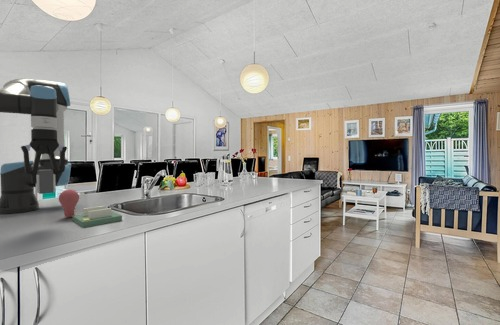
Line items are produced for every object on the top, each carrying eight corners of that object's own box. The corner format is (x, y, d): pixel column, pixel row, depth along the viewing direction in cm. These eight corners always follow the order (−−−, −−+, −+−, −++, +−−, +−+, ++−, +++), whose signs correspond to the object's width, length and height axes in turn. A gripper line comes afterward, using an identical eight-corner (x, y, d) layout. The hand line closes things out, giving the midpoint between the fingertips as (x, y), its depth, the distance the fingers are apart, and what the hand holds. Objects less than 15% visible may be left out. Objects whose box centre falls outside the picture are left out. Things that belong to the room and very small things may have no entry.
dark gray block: (37, 192, 96) (37, 169, 96) (51, 191, 99) (50, 169, 99) (39, 193, 93) (39, 170, 93) (53, 192, 96) (53, 170, 96)
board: (72, 220, 105) (72, 208, 105) (109, 214, 115) (109, 203, 115) (82, 227, 95) (82, 214, 95) (121, 220, 106) (121, 208, 105)
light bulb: (69, 220, 106) (68, 191, 105) (54, 219, 107) (54, 190, 107) (83, 216, 112) (83, 188, 112) (69, 215, 114) (69, 188, 113)
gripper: (14, 126, 86) (16, 195, 87) (74, 130, 99) (75, 190, 100) (12, 127, 91) (13, 193, 92) (69, 130, 104) (70, 188, 105)
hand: (45, 191), depth 96 cm, fingers closed on dark gray block, 4 cm apart
